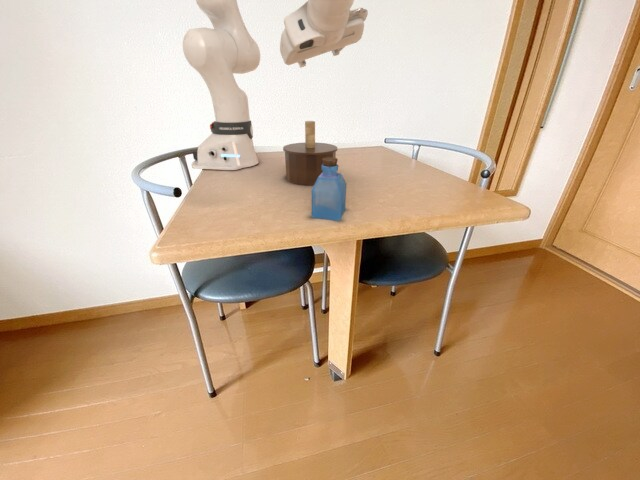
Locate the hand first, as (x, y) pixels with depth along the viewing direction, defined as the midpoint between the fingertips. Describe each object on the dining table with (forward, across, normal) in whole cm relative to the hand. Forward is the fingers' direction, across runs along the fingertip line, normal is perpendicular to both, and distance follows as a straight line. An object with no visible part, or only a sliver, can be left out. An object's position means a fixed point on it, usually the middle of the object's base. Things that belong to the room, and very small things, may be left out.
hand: (318, 58), depth 77 cm
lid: (+9, +9, +19) cm, 23 cm away
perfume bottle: (-12, +15, +39) cm, 43 cm away
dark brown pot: (+13, +12, +26) cm, 31 cm away
